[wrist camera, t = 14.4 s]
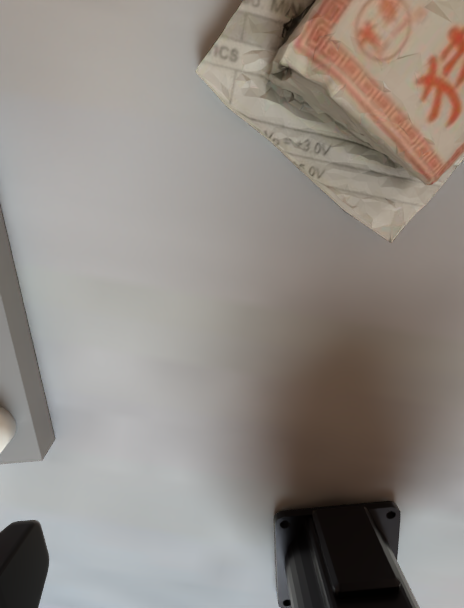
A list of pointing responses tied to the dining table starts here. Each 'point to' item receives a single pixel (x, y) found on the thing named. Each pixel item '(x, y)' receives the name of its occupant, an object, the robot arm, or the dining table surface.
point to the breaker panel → (19, 374)
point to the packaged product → (351, 95)
